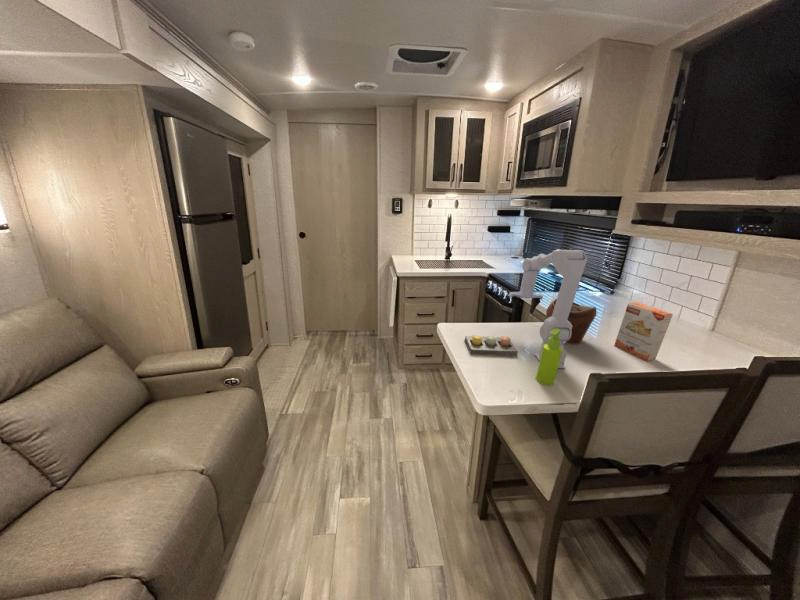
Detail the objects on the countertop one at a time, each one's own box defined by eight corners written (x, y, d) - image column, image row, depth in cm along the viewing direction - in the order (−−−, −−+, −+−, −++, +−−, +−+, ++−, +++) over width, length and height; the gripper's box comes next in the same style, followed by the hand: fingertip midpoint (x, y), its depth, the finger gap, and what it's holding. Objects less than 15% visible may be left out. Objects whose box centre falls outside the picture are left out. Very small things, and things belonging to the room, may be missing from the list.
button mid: (496, 346, 126) (497, 340, 125) (486, 346, 126) (487, 340, 125) (493, 342, 130) (494, 336, 129) (484, 341, 130) (485, 335, 129)
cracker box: (613, 346, 135) (627, 302, 128) (621, 344, 138) (636, 301, 130) (647, 362, 123) (664, 314, 116) (656, 359, 125) (674, 313, 118)
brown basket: (539, 325, 152) (547, 292, 146) (584, 333, 146) (594, 299, 140) (543, 341, 137) (552, 305, 130) (592, 351, 131) (604, 313, 124)
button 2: (510, 347, 126) (511, 341, 125) (501, 347, 126) (502, 340, 125) (507, 342, 130) (508, 336, 129) (498, 342, 130) (499, 336, 129)
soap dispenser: (532, 380, 107) (543, 329, 100) (539, 373, 111) (551, 324, 104) (549, 388, 103) (562, 336, 96) (556, 380, 107) (569, 330, 101)
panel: (517, 355, 123) (517, 351, 122) (470, 353, 123) (471, 349, 122) (507, 341, 134) (508, 337, 134) (464, 340, 134) (465, 335, 133)
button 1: (482, 346, 126) (483, 339, 125) (472, 345, 126) (473, 339, 125) (479, 341, 130) (480, 335, 129) (470, 341, 130) (471, 335, 129)
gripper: (541, 283, 140) (535, 310, 145) (509, 281, 141) (504, 308, 146) (546, 287, 134) (540, 316, 138) (513, 285, 135) (508, 313, 139)
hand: (522, 312), depth 142 cm, fingers open, 7 cm apart
